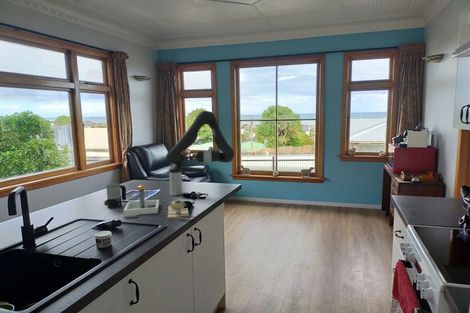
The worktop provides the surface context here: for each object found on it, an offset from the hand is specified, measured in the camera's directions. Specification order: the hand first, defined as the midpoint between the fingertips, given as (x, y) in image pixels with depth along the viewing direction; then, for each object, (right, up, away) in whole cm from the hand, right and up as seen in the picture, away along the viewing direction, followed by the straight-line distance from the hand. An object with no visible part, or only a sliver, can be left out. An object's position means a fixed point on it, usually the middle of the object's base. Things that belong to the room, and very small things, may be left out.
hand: (178, 157), depth 202 cm
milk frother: (-46, -32, +9) cm, 57 cm away
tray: (-21, -34, -7) cm, 40 cm away
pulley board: (+1, -33, -10) cm, 35 cm away
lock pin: (-21, -33, -7) cm, 40 cm away
